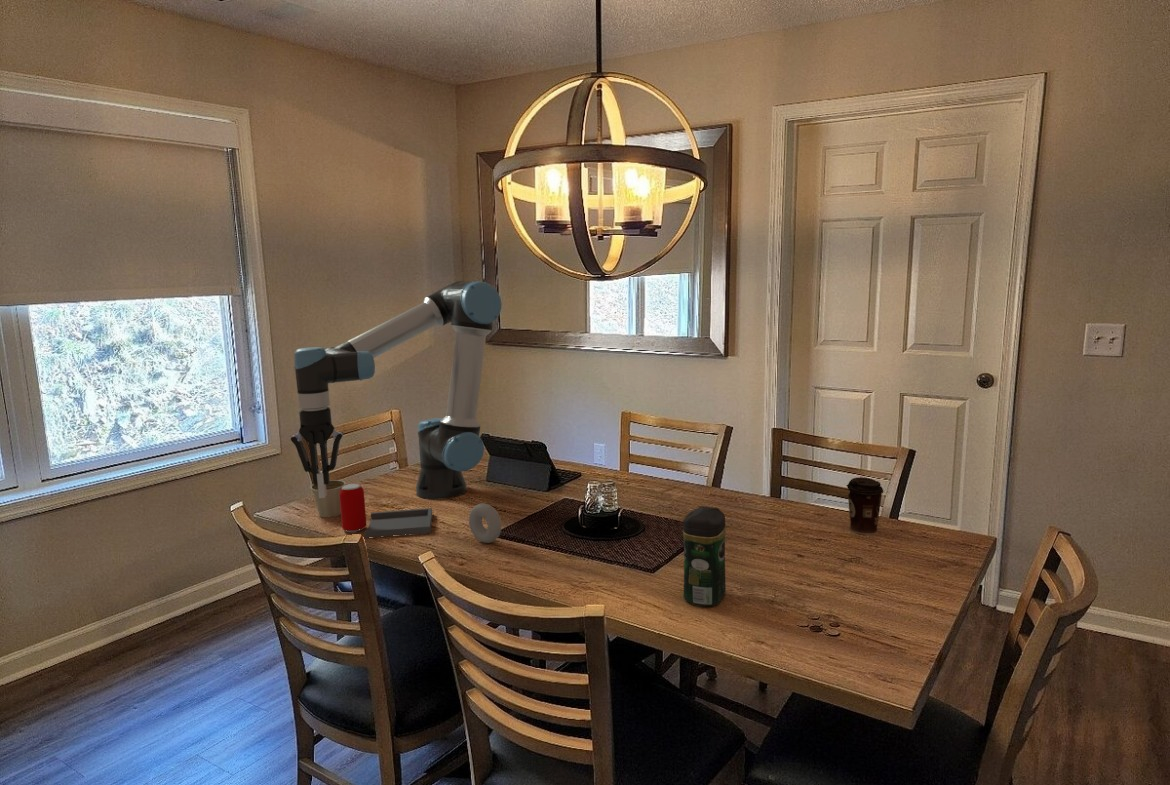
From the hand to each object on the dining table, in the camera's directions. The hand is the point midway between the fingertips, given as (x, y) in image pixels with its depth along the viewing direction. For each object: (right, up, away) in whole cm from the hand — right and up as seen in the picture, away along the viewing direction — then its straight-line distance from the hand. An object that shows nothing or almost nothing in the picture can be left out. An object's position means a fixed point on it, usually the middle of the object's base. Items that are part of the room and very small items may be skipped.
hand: (322, 496), depth 189 cm
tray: (+19, -9, +5) cm, 21 cm away
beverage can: (+7, -9, +3) cm, 12 cm away
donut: (+44, -10, -8) cm, 46 cm away
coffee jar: (+93, -15, -41) cm, 103 cm away
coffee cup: (+139, -8, -7) cm, 139 cm away
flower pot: (-3, -8, +16) cm, 18 cm away
